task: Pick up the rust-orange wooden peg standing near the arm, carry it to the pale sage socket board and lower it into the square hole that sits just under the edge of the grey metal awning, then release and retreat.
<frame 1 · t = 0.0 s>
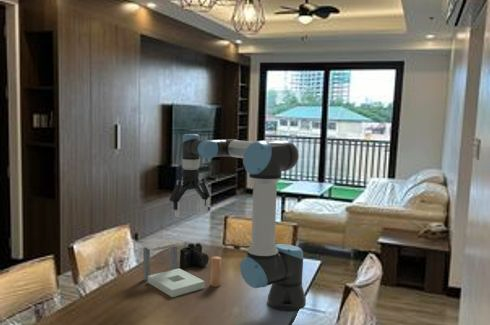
hand: (190, 215, 202), 28 cm above the table, fingers open, 13 cm apart
awning: (164, 260, 199), on the table
camera: (195, 266, 218), on the table
socket board: (175, 285, 192), on the table
peg: (215, 284, 194), on the table
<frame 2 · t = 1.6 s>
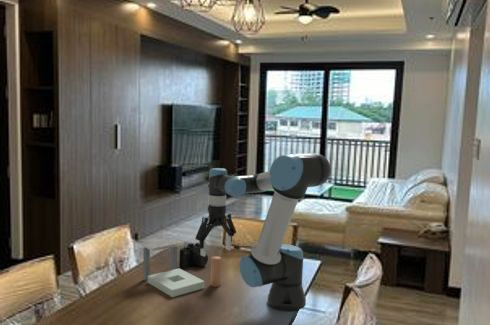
hand: (215, 252, 193), 14 cm above the table, fingers open, 13 cm apart
nothing on the table moved.
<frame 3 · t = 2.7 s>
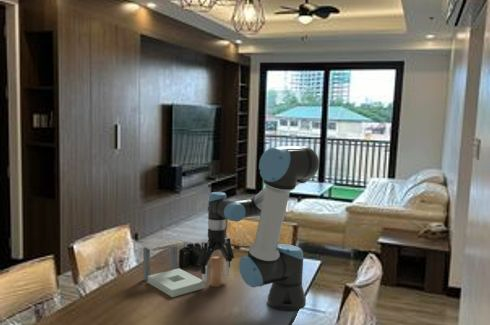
hand: (215, 277, 194), 3 cm above the table, fingers open, 11 cm apart
nothing on the table moved.
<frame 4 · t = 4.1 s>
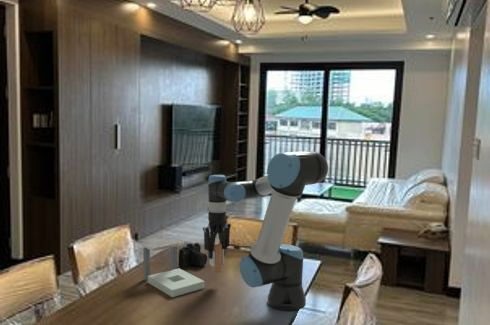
hand: (216, 264, 193), 9 cm above the table, fingers closed on peg, 4 cm apart
peg: (216, 271, 193), point 6 cm above the table, touching gripper
everything else where it was.
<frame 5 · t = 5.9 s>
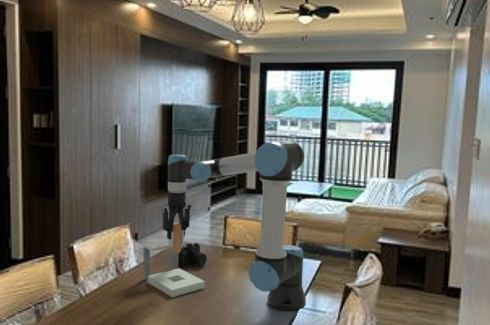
hand: (176, 245, 191), 18 cm above the table, fingers closed on peg, 4 cm apart
peg: (175, 251, 191), point 15 cm above the table, touching gripper
everything else where it was.
when the fingers open (4 cm above the table, at t = 8.1 s): peg drops 1 cm, resting in socket board.
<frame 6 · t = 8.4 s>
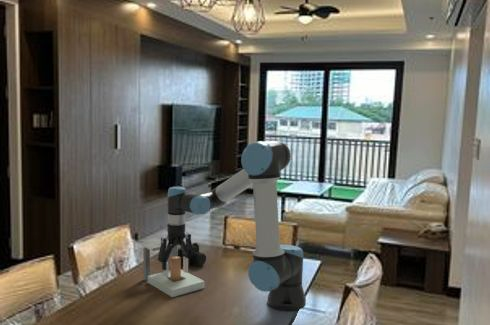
hand: (175, 274, 192), 5 cm above the table, fingers open, 9 cm apart
peg: (175, 285, 193), resting in socket board
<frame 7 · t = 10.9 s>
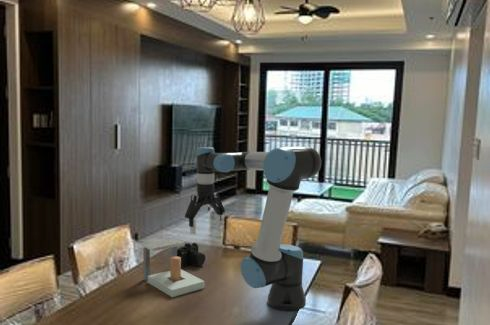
hand: (205, 231, 194), 23 cm above the table, fingers open, 13 cm apart
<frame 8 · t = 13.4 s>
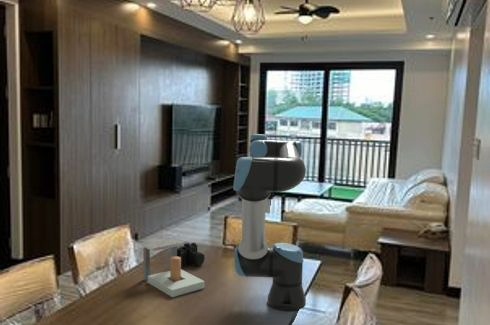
hand: (256, 214, 203), 29 cm above the table, fingers open, 13 cm apart
at the end: peg 0.3 cm off-centre on the socket board, point 0.0 cm above the socket board's base; the gripper is holding nothing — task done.
